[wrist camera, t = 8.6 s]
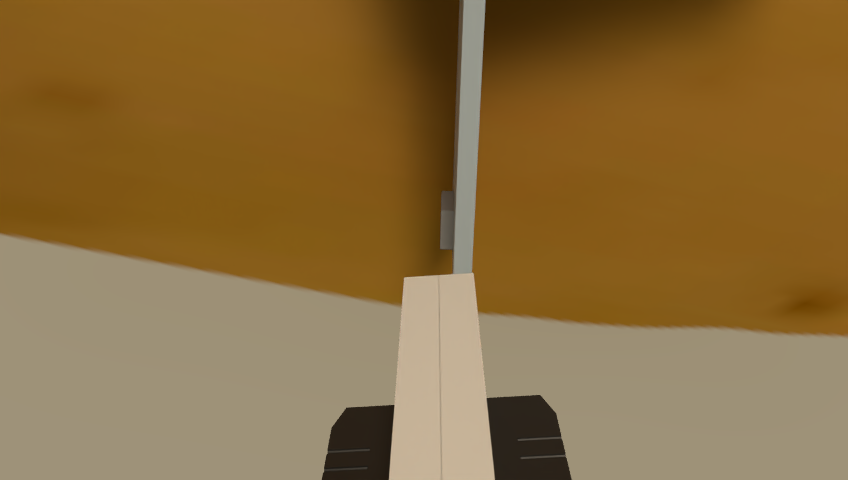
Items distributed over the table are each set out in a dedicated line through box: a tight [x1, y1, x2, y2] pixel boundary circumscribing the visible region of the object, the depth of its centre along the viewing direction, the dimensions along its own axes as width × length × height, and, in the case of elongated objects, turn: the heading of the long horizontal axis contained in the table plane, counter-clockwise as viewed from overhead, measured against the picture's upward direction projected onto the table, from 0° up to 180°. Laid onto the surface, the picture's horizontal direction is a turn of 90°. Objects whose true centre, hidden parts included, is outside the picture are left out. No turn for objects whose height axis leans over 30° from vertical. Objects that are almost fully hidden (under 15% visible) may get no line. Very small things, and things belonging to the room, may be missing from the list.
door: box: [440, 0, 485, 274], centre depth 32 cm, size 13×2×8 cm, turn 179°
